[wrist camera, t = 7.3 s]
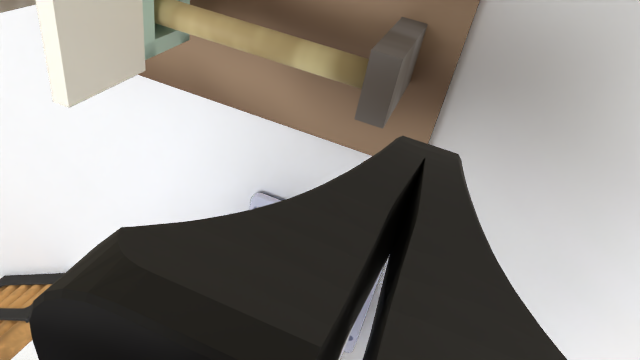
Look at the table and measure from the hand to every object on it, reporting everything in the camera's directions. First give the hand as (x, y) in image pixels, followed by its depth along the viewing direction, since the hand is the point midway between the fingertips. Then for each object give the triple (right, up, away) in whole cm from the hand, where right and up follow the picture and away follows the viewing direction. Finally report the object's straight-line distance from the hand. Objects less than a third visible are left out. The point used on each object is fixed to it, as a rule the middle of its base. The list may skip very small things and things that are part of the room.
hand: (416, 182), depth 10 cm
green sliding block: (-9, +7, +8) cm, 14 cm away
